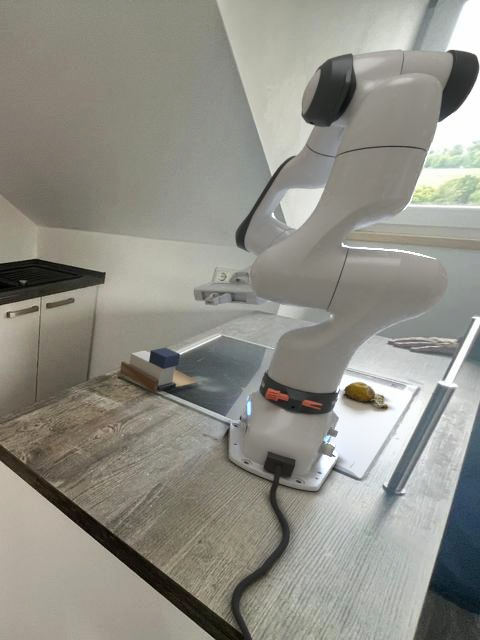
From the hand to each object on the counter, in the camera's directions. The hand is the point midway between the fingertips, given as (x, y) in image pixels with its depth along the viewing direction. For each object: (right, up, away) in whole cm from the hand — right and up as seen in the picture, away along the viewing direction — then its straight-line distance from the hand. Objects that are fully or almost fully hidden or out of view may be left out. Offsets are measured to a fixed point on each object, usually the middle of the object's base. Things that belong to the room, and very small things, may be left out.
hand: (209, 302), depth 101 cm
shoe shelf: (-12, -21, +4) cm, 24 cm away
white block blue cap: (-15, -20, +2) cm, 25 cm away
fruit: (+37, -25, -5) cm, 45 cm away
